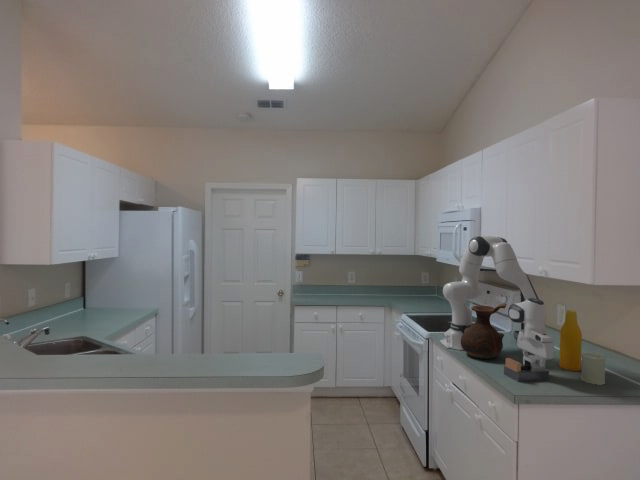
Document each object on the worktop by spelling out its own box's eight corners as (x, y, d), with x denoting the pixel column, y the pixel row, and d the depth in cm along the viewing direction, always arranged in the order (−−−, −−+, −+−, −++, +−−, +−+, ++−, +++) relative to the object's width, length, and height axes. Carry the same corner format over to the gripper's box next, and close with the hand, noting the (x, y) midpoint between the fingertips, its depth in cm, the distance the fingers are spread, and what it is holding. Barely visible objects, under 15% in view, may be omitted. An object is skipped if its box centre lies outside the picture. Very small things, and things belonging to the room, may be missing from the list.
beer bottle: (576, 372, 194) (577, 313, 194) (555, 367, 201) (557, 310, 201) (584, 369, 199) (585, 311, 199) (564, 364, 207) (565, 308, 207)
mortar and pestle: (517, 345, 242) (518, 325, 241) (510, 341, 251) (510, 322, 251) (536, 345, 242) (536, 326, 242) (527, 341, 251) (528, 322, 251)
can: (594, 385, 177) (595, 358, 177) (575, 378, 186) (576, 352, 186) (610, 383, 180) (610, 357, 180) (591, 376, 189) (591, 351, 189)
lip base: (533, 372, 194) (533, 355, 194) (548, 379, 184) (549, 362, 184) (503, 374, 190) (504, 357, 190) (518, 381, 181) (518, 364, 181)
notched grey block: (532, 370, 184) (532, 359, 184) (522, 366, 190) (523, 355, 190) (545, 369, 186) (545, 358, 186) (535, 365, 192) (535, 355, 192)
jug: (475, 363, 207) (476, 305, 206) (453, 350, 228) (454, 298, 227) (512, 361, 211) (513, 304, 210) (487, 349, 232) (488, 297, 231)
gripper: (513, 328, 197) (513, 356, 198) (545, 339, 177) (544, 370, 178) (525, 328, 199) (524, 355, 199) (557, 339, 179) (556, 369, 179)
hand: (534, 362), depth 188 cm, fingers open, 8 cm apart
